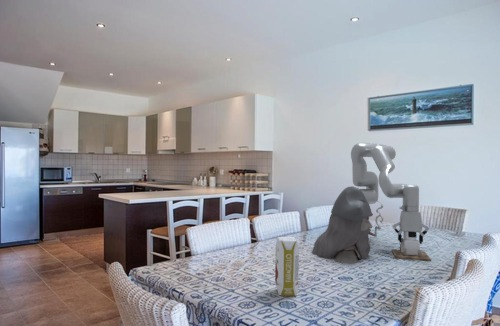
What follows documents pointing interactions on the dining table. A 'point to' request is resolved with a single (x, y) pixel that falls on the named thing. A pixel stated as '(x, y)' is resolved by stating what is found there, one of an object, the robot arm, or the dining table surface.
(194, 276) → the dining table surface
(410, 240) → the white capped block
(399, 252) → the wooden peg board
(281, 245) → the juice carton
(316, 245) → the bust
